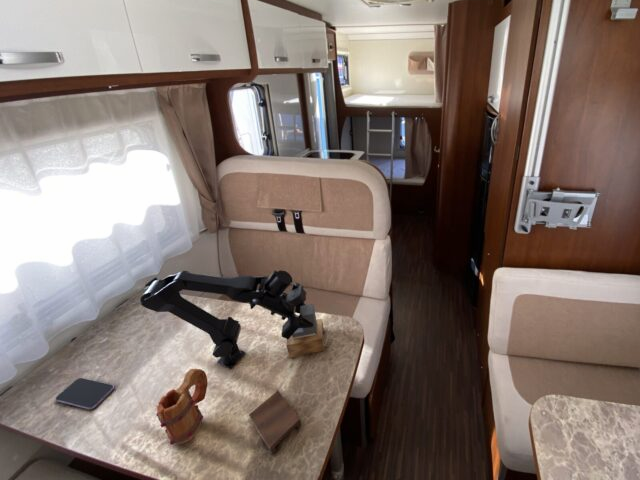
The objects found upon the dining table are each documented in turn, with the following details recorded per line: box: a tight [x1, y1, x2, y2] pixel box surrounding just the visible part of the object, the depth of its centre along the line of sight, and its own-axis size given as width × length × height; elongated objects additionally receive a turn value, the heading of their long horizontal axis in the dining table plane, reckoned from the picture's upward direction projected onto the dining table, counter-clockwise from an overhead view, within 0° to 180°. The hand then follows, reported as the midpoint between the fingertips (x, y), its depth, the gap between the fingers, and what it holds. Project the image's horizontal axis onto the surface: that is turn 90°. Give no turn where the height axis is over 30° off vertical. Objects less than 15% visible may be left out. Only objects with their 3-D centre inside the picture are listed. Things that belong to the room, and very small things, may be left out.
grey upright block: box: [292, 303, 317, 339], centre depth 104 cm, size 8×5×10 cm, turn 101°
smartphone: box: [54, 377, 115, 411], centre depth 95 cm, size 7×1×15 cm
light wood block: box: [285, 318, 325, 359], centre depth 107 cm, size 12×9×6 cm
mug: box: [155, 368, 209, 446], centre depth 83 cm, size 15×8×15 cm, turn 168°
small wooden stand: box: [248, 390, 302, 455], centre depth 84 cm, size 12×9×3 cm
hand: (312, 320), depth 105 cm, fingers closed on grey upright block, 5 cm apart
